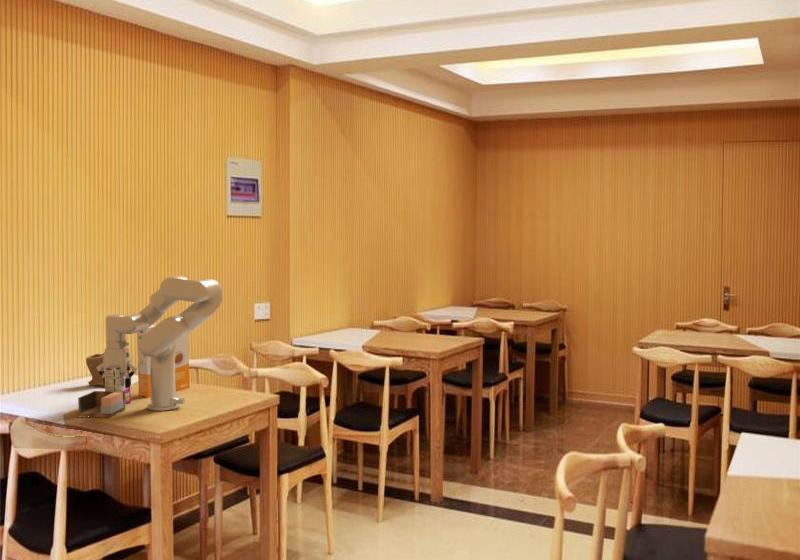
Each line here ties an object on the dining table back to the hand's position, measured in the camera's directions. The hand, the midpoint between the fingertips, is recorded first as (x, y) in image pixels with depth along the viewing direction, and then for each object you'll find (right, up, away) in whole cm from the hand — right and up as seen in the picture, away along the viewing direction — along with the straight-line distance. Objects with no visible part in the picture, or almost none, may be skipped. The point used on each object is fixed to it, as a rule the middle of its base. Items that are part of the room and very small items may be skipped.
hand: (117, 386), depth 314 cm
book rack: (-1, -9, -12) cm, 15 cm away
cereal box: (+11, -6, +26) cm, 29 cm away
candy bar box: (0, -8, +1) cm, 8 cm away
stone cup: (-21, -5, +40) cm, 46 cm away
